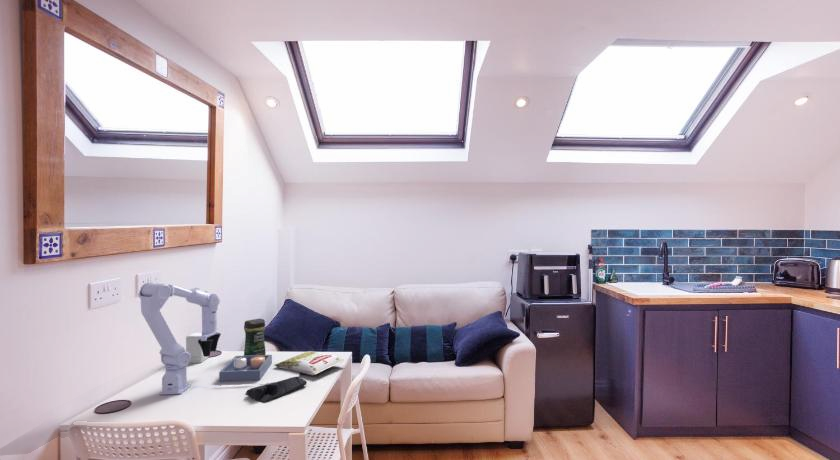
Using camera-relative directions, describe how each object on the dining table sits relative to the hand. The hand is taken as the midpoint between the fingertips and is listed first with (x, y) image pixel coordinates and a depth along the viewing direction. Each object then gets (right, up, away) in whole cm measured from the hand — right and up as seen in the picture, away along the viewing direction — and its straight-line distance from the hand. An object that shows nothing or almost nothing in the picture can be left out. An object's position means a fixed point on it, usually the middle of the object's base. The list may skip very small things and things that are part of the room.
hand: (209, 353), depth 194 cm
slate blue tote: (+15, -10, +3) cm, 18 cm away
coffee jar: (+9, -10, +27) cm, 30 cm away
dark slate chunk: (+34, -11, -16) cm, 39 cm away
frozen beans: (+40, -10, +10) cm, 43 cm away
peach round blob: (+17, -9, +9) cm, 21 cm away
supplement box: (-16, -10, +23) cm, 30 cm away
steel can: (+13, -9, -1) cm, 16 cm away
